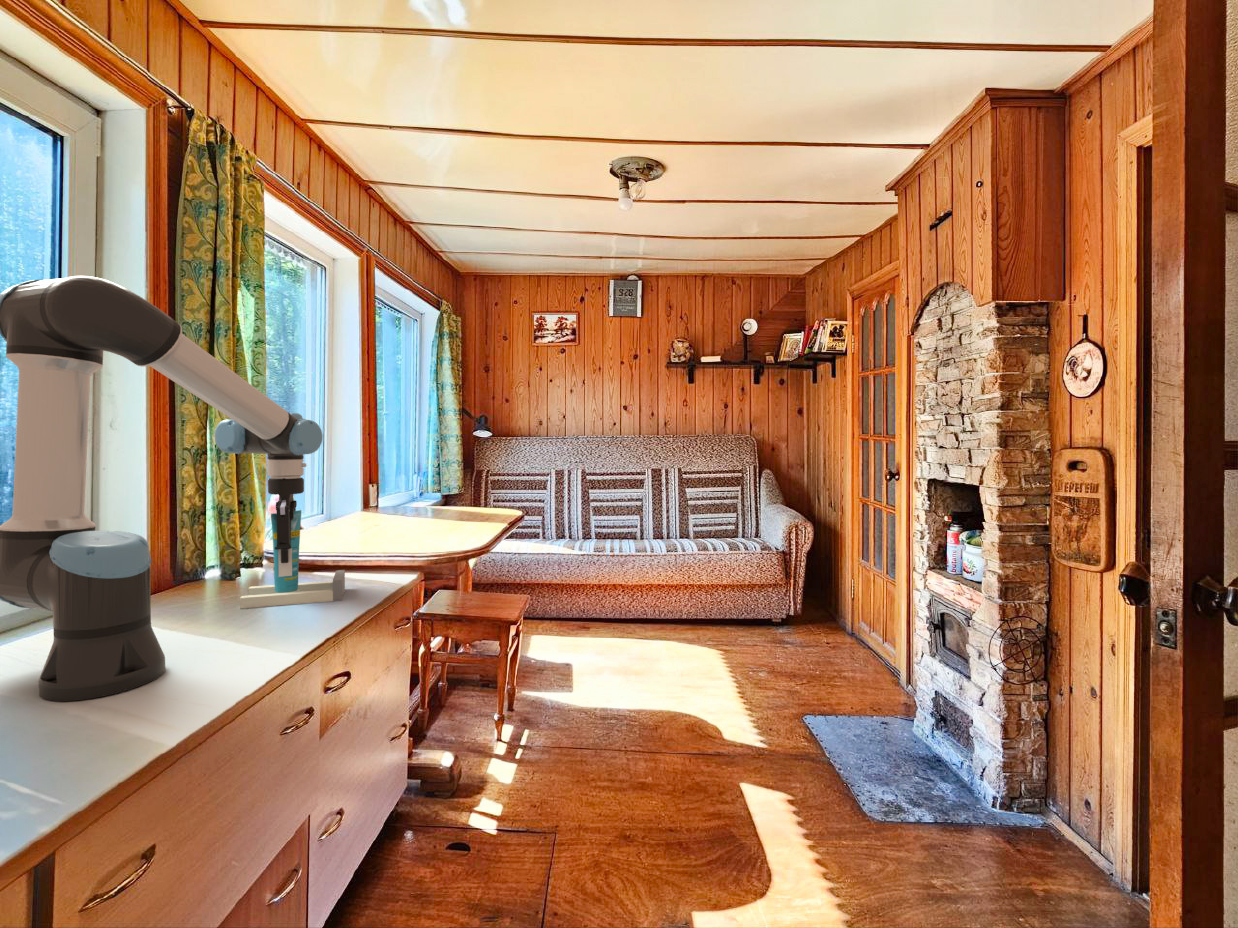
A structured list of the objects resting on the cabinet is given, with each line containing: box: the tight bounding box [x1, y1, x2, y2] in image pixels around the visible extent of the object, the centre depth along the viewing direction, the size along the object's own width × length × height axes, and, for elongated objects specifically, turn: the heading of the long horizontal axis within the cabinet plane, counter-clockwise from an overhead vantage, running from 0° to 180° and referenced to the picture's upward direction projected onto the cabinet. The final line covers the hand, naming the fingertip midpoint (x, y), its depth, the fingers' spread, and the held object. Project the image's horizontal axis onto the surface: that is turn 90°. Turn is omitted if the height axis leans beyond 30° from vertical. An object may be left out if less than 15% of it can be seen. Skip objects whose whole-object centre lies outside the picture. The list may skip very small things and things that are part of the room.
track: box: [239, 569, 346, 610], centre depth 142 cm, size 11×21×5 cm, turn 112°
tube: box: [270, 510, 302, 593], centre depth 141 cm, size 7×5×19 cm, turn 157°
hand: (287, 573), depth 141 cm, fingers closed on tube, 5 cm apart
